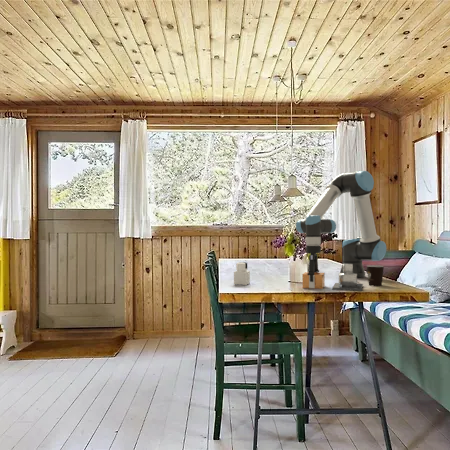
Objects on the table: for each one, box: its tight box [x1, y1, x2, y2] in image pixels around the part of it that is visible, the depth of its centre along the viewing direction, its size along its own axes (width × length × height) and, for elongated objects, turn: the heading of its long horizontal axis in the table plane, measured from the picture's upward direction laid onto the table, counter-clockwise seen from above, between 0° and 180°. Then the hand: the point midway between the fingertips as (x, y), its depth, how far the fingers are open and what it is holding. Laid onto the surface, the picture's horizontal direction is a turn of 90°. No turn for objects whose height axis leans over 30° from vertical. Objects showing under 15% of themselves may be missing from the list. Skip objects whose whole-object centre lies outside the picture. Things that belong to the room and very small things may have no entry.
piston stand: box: [332, 263, 364, 292], centre depth 222 cm, size 18×14×12 cm
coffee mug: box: [365, 264, 385, 287], centre depth 232 cm, size 12×9×10 cm
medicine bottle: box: [233, 261, 251, 286], centre depth 239 cm, size 7×7×12 cm
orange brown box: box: [301, 271, 326, 290], centre depth 226 cm, size 10×10×7 cm
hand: (313, 286), depth 226 cm, fingers open, 13 cm apart
